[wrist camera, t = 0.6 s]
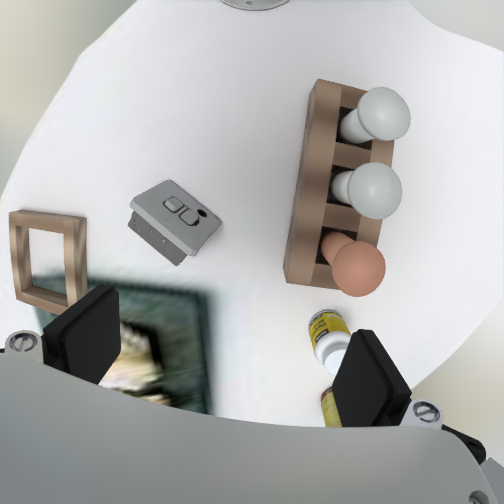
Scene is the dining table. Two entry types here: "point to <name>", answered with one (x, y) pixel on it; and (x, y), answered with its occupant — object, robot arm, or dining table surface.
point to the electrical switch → (172, 221)
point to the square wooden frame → (72, 258)
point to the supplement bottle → (329, 339)
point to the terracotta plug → (352, 263)
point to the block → (327, 185)
